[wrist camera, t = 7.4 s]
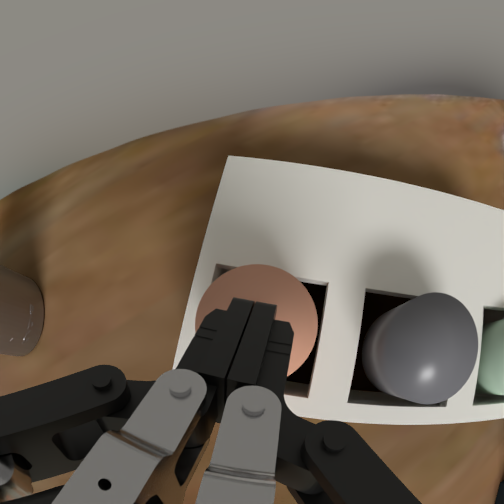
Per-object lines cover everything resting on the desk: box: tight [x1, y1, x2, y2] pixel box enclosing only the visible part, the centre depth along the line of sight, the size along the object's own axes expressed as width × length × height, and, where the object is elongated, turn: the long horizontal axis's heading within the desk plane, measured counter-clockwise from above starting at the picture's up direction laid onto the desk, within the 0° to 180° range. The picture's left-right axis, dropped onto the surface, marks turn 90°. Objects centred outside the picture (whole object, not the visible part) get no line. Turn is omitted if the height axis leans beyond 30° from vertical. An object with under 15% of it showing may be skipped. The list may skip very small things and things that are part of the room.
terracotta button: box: [195, 264, 318, 376], centre depth 14 cm, size 5×5×4 cm
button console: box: [172, 156, 504, 425], centre depth 19 cm, size 24×14×9 cm, turn 79°
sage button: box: [475, 319, 504, 395], centre depth 13 cm, size 5×5×4 cm
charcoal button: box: [362, 292, 478, 404], centre depth 13 cm, size 5×5×4 cm
